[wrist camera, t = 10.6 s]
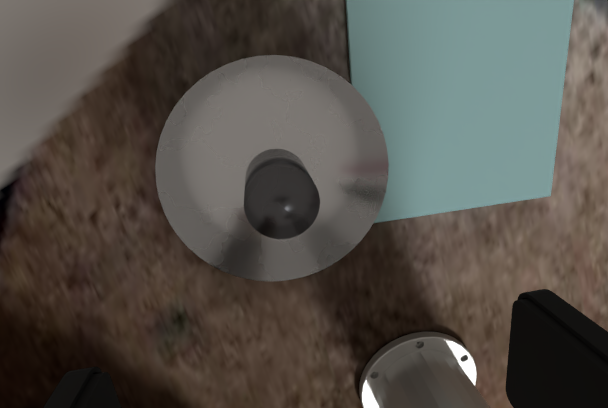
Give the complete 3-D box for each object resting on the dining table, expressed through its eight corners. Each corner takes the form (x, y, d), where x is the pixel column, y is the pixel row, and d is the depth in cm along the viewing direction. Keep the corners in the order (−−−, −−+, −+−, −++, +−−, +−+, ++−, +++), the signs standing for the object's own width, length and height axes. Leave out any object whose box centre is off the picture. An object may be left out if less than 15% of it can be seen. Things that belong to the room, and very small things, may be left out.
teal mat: (547, 194, 35) (550, 195, 35) (359, 223, 34) (360, 225, 34) (572, -25, 29) (576, -27, 29) (345, -2, 28) (346, -4, 27)
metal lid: (388, 257, 28) (420, 301, 23) (186, 291, 27) (170, 345, 22) (379, 42, 23) (418, 32, 18) (130, 71, 22) (91, 70, 17)
